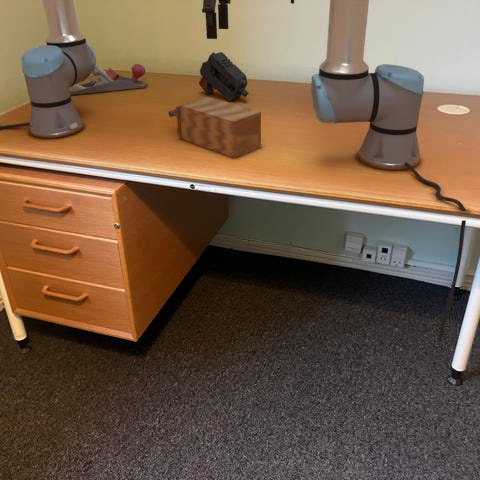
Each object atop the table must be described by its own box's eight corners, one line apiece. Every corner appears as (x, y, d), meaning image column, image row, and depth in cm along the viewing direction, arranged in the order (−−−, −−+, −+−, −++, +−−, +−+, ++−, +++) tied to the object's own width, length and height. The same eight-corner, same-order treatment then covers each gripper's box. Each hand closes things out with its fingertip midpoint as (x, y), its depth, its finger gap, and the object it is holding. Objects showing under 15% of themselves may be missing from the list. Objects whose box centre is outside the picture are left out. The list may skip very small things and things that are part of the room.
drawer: (165, 129, 158) (163, 102, 154) (188, 121, 164) (186, 95, 160) (227, 151, 143) (226, 121, 139) (250, 141, 149) (250, 112, 144)
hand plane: (62, 90, 197) (53, 48, 189) (145, 82, 205) (140, 41, 197) (62, 96, 191) (54, 53, 184) (148, 87, 199) (143, 45, 191)
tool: (204, 81, 194) (218, 46, 183) (240, 115, 190) (257, 82, 179) (193, 84, 190) (206, 49, 179) (229, 120, 186) (245, 86, 175)
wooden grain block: (181, 139, 154) (178, 105, 149) (207, 129, 160) (205, 96, 155) (235, 158, 141) (234, 121, 136) (260, 146, 148) (261, 111, 142)
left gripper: (217, -51, 126) (220, 43, 137) (238, -57, 146) (240, 25, 158) (186, -50, 127) (192, 42, 138) (212, -57, 148) (215, 24, 159)
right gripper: (358, -79, 156) (351, -1, 167) (273, -77, 155) (272, 1, 167) (364, -79, 150) (357, 3, 161) (276, -77, 149) (275, 5, 160)
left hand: (218, 33), depth 148 cm, fingers open, 13 cm apart
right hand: (314, 2), depth 164 cm, fingers open, 13 cm apart
